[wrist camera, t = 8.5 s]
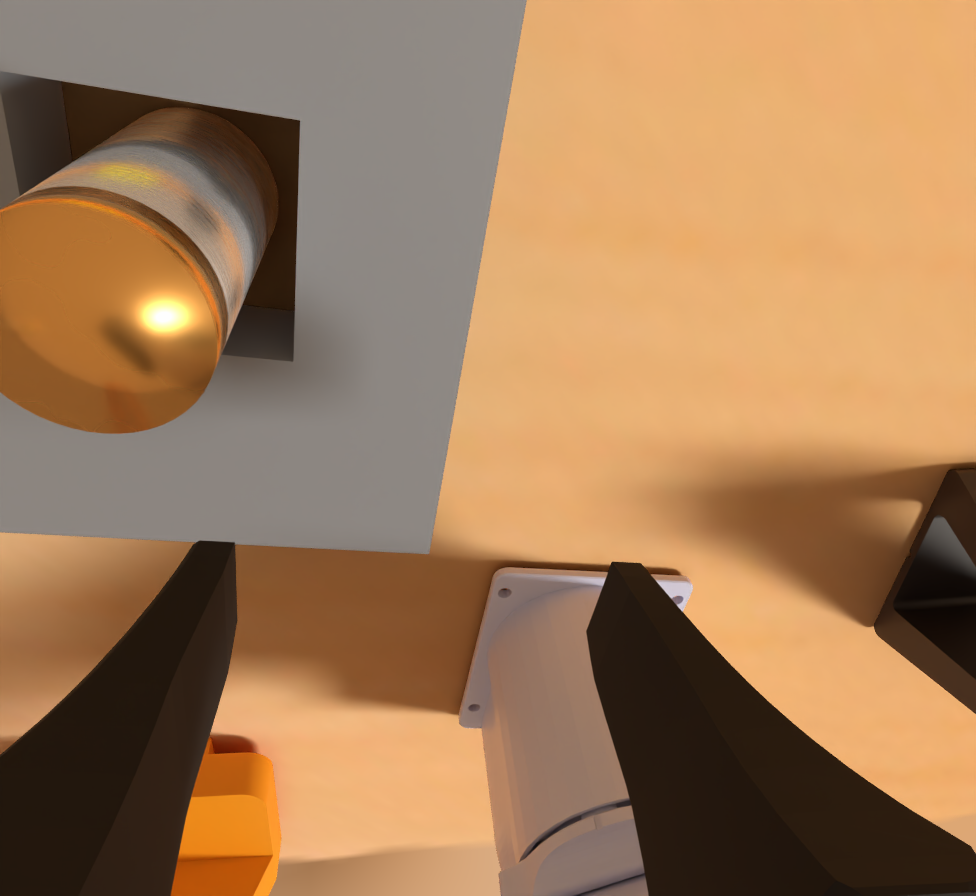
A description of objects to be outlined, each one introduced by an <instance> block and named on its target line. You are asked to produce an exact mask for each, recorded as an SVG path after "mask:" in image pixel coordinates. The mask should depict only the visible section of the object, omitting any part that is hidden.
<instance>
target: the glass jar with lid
mask: <svg viewBox="0 0 976 896" xmlns="http://www.w3.org/2000/svg"><path fill="white" fill-rule="evenodd" d="M278 205H279V203H278V192H277V187H276V182H275V179H274V176H273V173H272V171H271V169H270V167H269V164H268V162H267V161H266V159H265V157H264V156H263V154H262V153H261V151H260V150H259V149H258V147H257V146H256V145H255V144H254V142H253V141H252V140H251V139H250V138H249V137H248V136H247V135H246V134H245V133H243V132H242V131H241V130H240V129H238V128H237V127H236V126H234V125H233V124H231V123H230V122H228V121H227V120H225V119H223V118H221V117H219V116H217V115H215V114H212V113H209V112H206V111H203V110H199V109H194V108H187V107H169V108H164V109H159V110H156V111H153V112H150V113H147V114H146V115H144V116H142V117H140V118H139V119H137V120H136V121H134V122H133V123H131V124H129V125H128V126H126V127H125V128H123V129H122V130H120V131H119V132H117V133H116V134H114V135H113V136H111V137H110V138H108V139H107V140H105V141H104V142H102V143H101V144H99V145H97V146H96V147H94V148H93V149H91V150H90V151H88V152H87V153H85V154H84V155H82V156H81V157H79V158H78V159H76V160H75V161H73V162H72V163H70V164H69V165H67V166H65V167H64V168H62V169H61V170H59V171H58V172H56V173H55V174H53V175H52V176H50V177H49V178H47V179H46V180H44V181H43V182H41V183H40V184H38V185H37V186H35V187H33V188H32V189H30V190H29V191H27V192H26V193H24V194H23V195H21V196H20V197H18V198H17V199H15V200H14V201H12V202H11V203H9V204H8V205H6V206H5V207H3V208H1V209H0V393H2V394H3V395H4V396H6V397H7V398H8V399H10V400H11V401H13V402H14V403H16V404H17V405H19V406H20V407H22V408H24V409H26V410H28V411H29V412H31V413H33V414H35V415H37V416H39V417H41V418H44V419H46V420H49V421H51V422H54V423H56V424H60V425H63V426H66V427H69V428H73V429H78V430H82V431H87V432H95V433H103V434H123V433H134V432H139V431H144V430H149V429H152V428H155V427H158V426H161V425H164V424H166V423H168V422H170V421H172V420H174V419H176V418H177V417H179V416H180V415H182V414H183V413H185V412H186V411H187V410H188V409H189V408H191V407H192V406H193V405H194V404H195V403H196V402H197V401H198V399H199V398H200V397H201V396H202V394H203V393H204V391H205V389H206V388H207V386H208V384H209V382H210V380H211V378H212V375H213V373H214V371H215V368H216V366H217V363H218V361H219V359H220V356H221V354H222V352H223V349H224V347H225V344H226V342H227V340H228V337H229V335H230V333H231V330H232V328H233V325H234V323H235V321H236V318H237V316H238V314H239V311H240V309H241V306H242V304H243V302H244V299H245V297H246V295H247V292H248V290H249V287H250V285H251V283H252V280H253V278H254V276H255V273H256V271H257V268H258V266H259V264H260V261H261V259H262V257H263V254H264V252H265V249H266V247H267V245H268V242H269V240H270V238H271V235H272V233H273V230H274V227H275V225H276V221H277V216H278Z"/></svg>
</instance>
